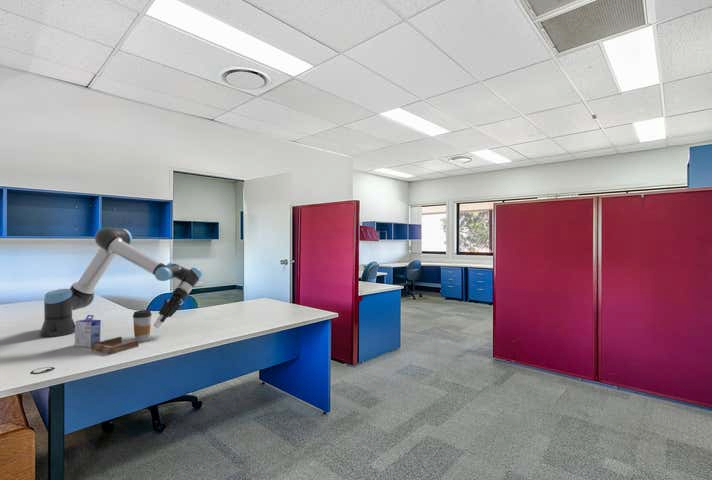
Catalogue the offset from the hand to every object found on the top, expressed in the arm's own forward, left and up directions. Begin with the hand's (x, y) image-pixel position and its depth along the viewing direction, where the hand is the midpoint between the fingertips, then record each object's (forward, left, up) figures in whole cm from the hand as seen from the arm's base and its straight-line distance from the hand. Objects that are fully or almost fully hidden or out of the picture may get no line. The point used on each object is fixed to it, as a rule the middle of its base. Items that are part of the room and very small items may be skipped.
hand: (155, 326), depth 190 cm
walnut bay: (0, -21, -6) cm, 22 cm away
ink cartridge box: (-17, -24, -6) cm, 30 cm away
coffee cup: (0, -8, -6) cm, 10 cm away
